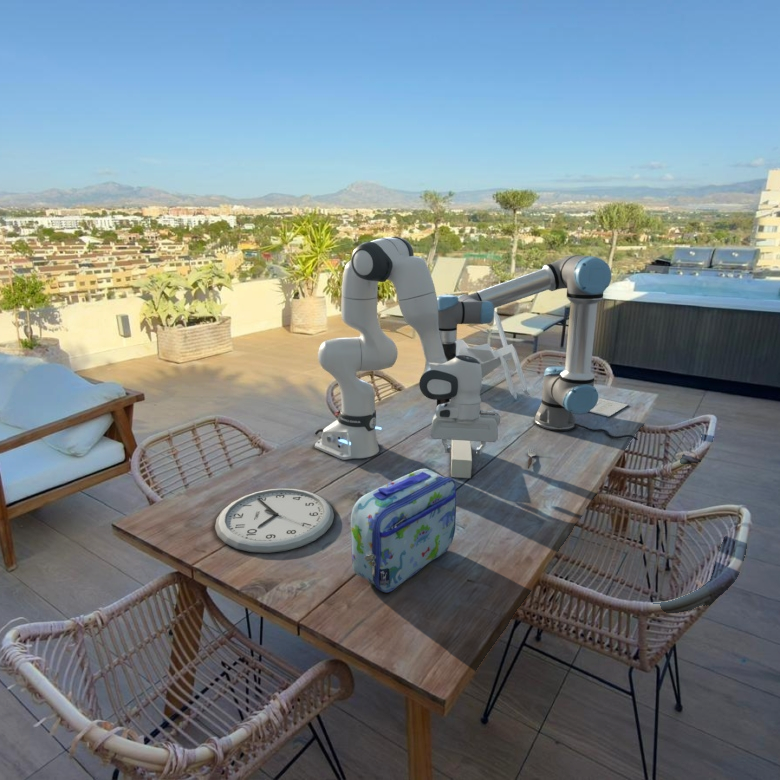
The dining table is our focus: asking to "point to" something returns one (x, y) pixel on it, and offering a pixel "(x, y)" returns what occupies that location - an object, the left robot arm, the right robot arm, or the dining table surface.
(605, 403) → the invitation card
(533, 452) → the fork
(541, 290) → the right robot arm
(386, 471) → the dining table surface
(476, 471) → the dining table surface
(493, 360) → the white plastic object
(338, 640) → the dining table surface
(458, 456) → the peg block
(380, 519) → the lunch box
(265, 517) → the wall clock
